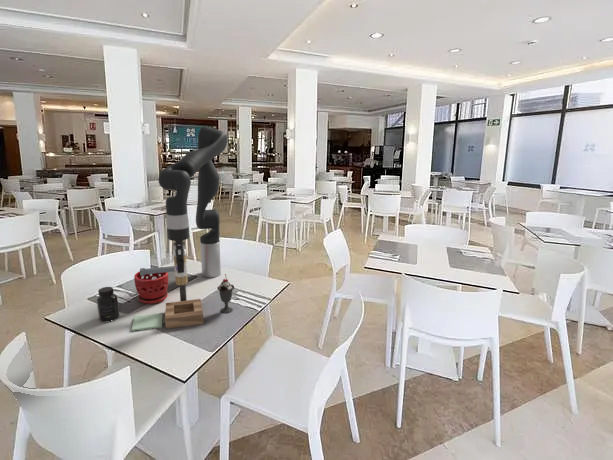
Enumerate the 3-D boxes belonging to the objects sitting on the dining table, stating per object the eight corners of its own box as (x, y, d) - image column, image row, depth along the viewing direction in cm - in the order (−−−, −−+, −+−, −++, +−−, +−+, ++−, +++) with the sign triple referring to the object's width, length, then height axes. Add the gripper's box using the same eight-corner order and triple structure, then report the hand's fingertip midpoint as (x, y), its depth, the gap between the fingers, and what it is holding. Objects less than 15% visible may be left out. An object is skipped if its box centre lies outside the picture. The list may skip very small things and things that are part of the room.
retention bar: (185, 268, 145) (185, 263, 145) (185, 271, 142) (185, 266, 142) (140, 272, 140) (140, 268, 139) (140, 275, 137) (139, 271, 136)
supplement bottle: (100, 315, 138) (96, 286, 135) (120, 312, 141) (116, 284, 138) (98, 324, 132) (94, 294, 129) (118, 320, 135) (115, 291, 132)
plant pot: (129, 302, 150) (126, 275, 147) (155, 290, 161) (153, 265, 158) (151, 309, 144) (148, 281, 141) (176, 297, 155) (174, 271, 152)
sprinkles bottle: (173, 285, 132) (170, 251, 129) (177, 280, 137) (175, 247, 133) (185, 285, 132) (183, 251, 129) (189, 280, 137) (187, 247, 133)
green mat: (134, 318, 137) (134, 316, 137) (162, 314, 140) (162, 312, 140) (131, 331, 128) (131, 329, 127) (161, 327, 131) (161, 325, 131)
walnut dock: (166, 305, 147) (164, 270, 143) (200, 301, 152) (198, 267, 148) (165, 328, 130) (162, 289, 126) (203, 323, 134) (201, 285, 130)
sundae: (228, 304, 149) (227, 271, 145) (238, 310, 145) (237, 276, 141) (214, 309, 145) (213, 275, 141) (223, 315, 140) (222, 280, 136)
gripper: (189, 230, 123) (192, 276, 128) (188, 220, 136) (190, 262, 141) (166, 231, 121) (169, 278, 125) (167, 221, 134) (170, 264, 138)
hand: (180, 269), depth 133 cm, fingers closed on sprinkles bottle, 4 cm apart
